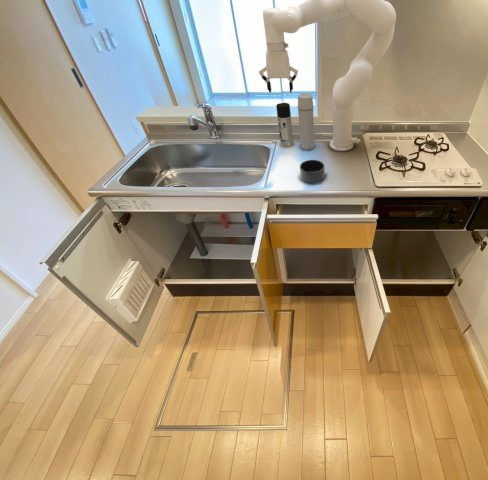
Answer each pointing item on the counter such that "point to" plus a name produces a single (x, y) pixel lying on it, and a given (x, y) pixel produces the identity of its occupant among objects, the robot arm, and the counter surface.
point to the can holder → (312, 171)
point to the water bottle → (306, 121)
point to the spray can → (284, 124)
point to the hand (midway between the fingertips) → (280, 91)
